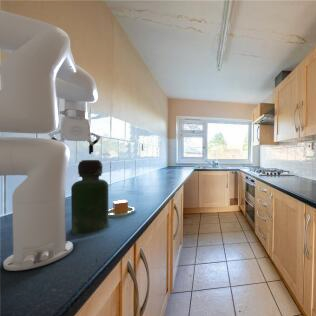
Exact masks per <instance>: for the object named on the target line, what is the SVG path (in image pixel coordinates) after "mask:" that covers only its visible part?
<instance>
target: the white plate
mask: <svg viewBox="0 0 316 316" xmlns="http://www.w3.org/2000/svg"><path fill="white" fill-rule="evenodd" d="M134 212H135V207H133V206H128V212H127V213H122V214H114V213H113V208H110V209H108V218H119V217H125V216H128V215H132V214H133V213H134Z"/></svg>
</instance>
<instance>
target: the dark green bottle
mask: <svg viewBox="0 0 316 316" xmlns="http://www.w3.org/2000/svg"><path fill="white" fill-rule="evenodd" d="M103 167H104V166H103V163H102V161H100V160H99V159H81V160H80V161H79V163H78V165H77V174H78V177H79V178H81V179H80V180H77V181H75V182H74V183H73V184H72V185H71V187H70V191H71V193H70V197H71V198H70V200H71V203H70V205H71V208H70V209H71V212H70V213H71V233H73V234H78V235H80V234H81V235H83V234H90V233H94V232H98V231H101V230H103V229H105V228H107V227H108V226H109V217H108V210H109V183H108V182H107V180H105V179H101V178H100V177H101V176H102V174H103Z"/></svg>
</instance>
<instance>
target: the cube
mask: <svg viewBox="0 0 316 316" xmlns="http://www.w3.org/2000/svg"><path fill="white" fill-rule="evenodd" d="M128 207H129V201H128V200H127V199H121V200H113V201H112V209H113V213H114V214H122V213H127V212H128Z"/></svg>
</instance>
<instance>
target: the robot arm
mask: <svg viewBox="0 0 316 316" xmlns="http://www.w3.org/2000/svg"><path fill="white" fill-rule="evenodd" d="M0 52H6V53H9V54H8V55H7V56H6V57H5V58H4V59H3V60H2V62H1V63H0V81H1V89H0V133H11V134H12V133H13V134H31V135H32V134H33V135H34V134H35V135H36V134H37V135H38V134H39V135H42V134H43V135H45V134H48V136H49V138H45V137H27V136H26V137H25V136H24V137H23V136H20V137H18V136H17V137H16V136H0V177H1V176H27V177H26V179H24V180H23V181H22V182H21V183H20V184H18V185H17V187H16V188H15V189H14V190H13V192H12V196H11V204H12V205H11V206H12V208H11V209H12V254H11V255H9V256H7V257H6V258H5V260H3V264H2V268H3V270H6V271H9V272H10V271H12V272H14V271H15V272H18V271H25V270H33V269H35V268H40V267H43V266H46V265H49V264H52V263H54V262H57V261H58V260H60V259H63V258H64V257H66V256H68V255H69V254H71V252H72V251H73V249H74V244H73V242H71V241H69V240H67V235H66V234H67V231H66V229H67V227H66V225H67V224H66V223H67V222H66V217H67V215H66V182H67V181H66V179H67V171H68V166H69V162H70V149H69V147H68V146H67V144H66V143H64V142H65V141H69V142H70V141H71V142H72V141H73V142H87V143H88V144H89V145H88V154H89V155H92V153H94V146H95V145H96V144H97V143H98V142H99V141H100V139H101V136H100V135H99V134H96V133H94V132H92V126H91V122H90V119H88V103H90V104H92V103H96V102H97V101H98V99H99V91H98V88H97V83H96V81H95V79H94V77H93V76H92V75H91V74H90V73H89V72H88V71H86V70H85V69H84V68H82V67H81V66H80V65H78V64H76V62H75V61H76V60H75V59H74V55H73V53H72V49H71V39H70V36H69V34H68V33H67V32H66V31H65V30H64V29H62V28H61V27H59V26H56V25H55V24H54V25H53V24H52V23H49V22H46V21H43V20H39V19H36V18H32V17H28V16H25V15H22V14H19V13H18V14H17V13H13V12H10V11H7V10H6V11H5V10H2V9H0ZM58 99H60V100H64V110H60V111H59V109H58ZM59 114H60V115H63V116H62V117H61V120H60V129H59V130H57V129H58V126H59ZM59 134H60V135H59ZM57 135H59V137H60V139H58V138H56V137H55V136H57ZM92 137H94V138H95V139H94V140H93V141H92Z"/></svg>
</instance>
